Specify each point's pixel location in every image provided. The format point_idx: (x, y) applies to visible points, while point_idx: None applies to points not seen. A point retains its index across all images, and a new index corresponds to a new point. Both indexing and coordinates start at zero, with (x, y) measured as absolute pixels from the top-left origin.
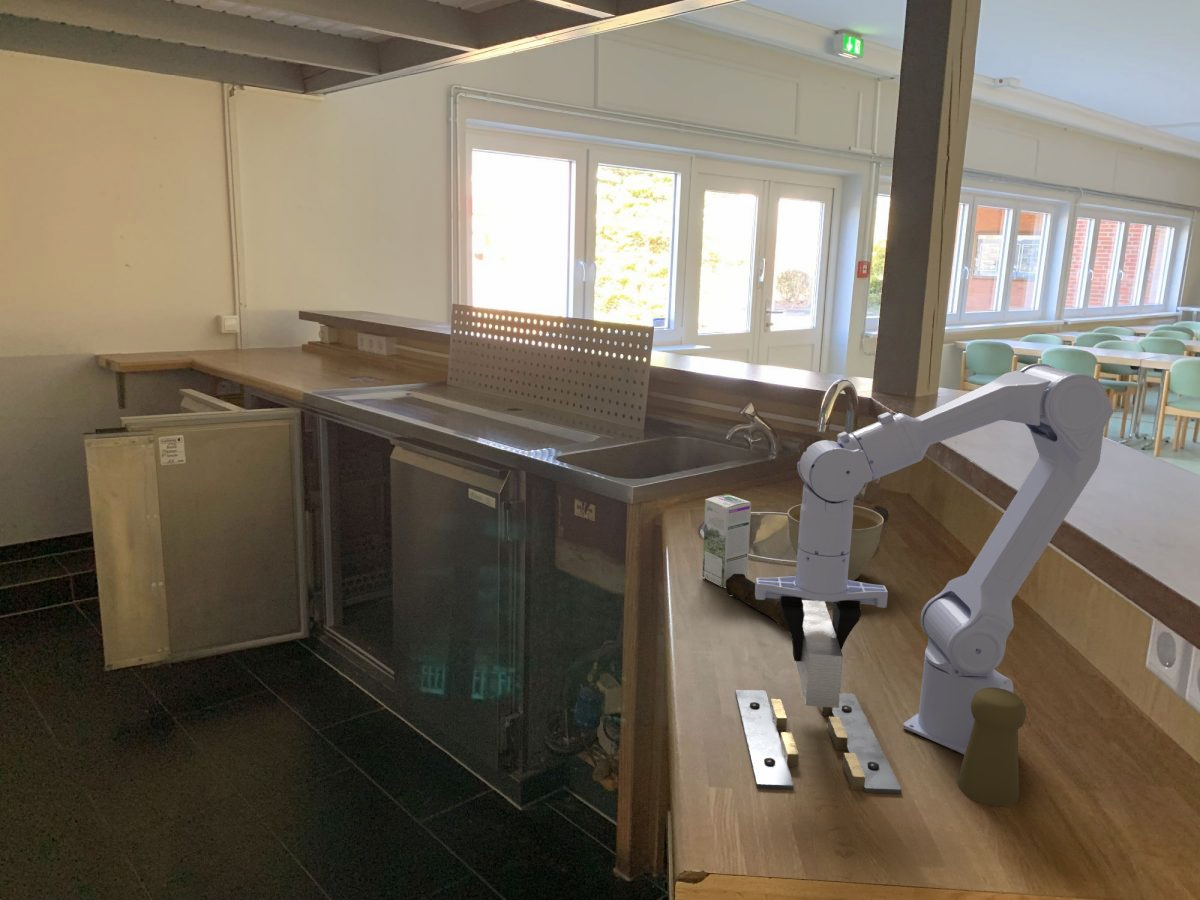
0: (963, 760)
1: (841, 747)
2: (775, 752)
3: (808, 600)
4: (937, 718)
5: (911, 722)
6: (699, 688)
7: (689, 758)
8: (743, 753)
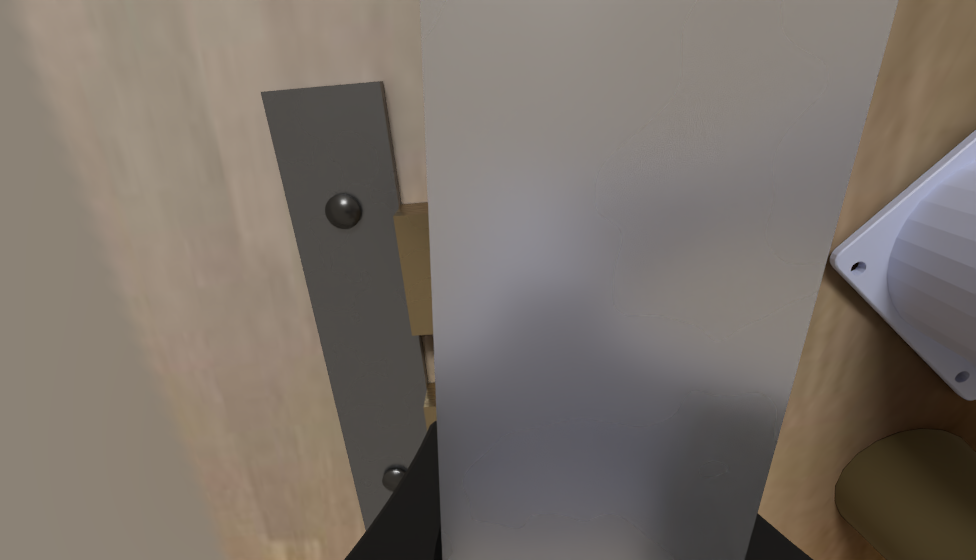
0: (896, 526)
1: None
2: (411, 440)
3: (624, 65)
4: (957, 351)
5: (870, 246)
6: (123, 71)
7: (203, 461)
8: (332, 428)
